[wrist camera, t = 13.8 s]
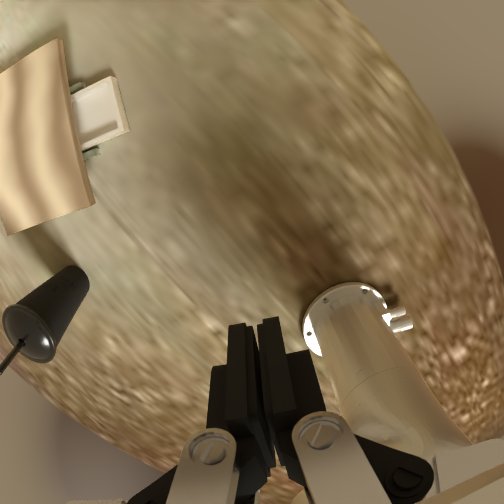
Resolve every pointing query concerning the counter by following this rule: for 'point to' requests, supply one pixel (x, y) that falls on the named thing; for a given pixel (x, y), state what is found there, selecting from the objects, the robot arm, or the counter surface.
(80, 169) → the shelf
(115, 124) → the white rectangular tray
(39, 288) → the drinking cup
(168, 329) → the counter surface
